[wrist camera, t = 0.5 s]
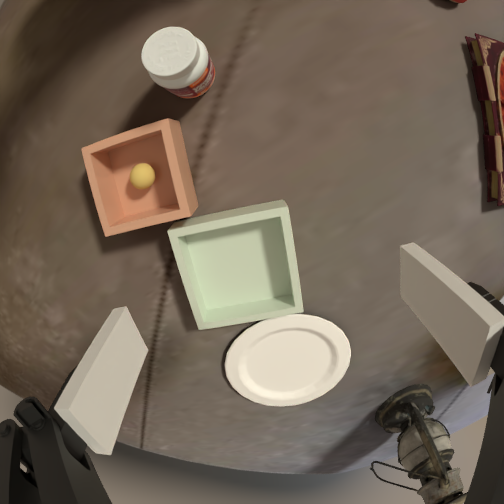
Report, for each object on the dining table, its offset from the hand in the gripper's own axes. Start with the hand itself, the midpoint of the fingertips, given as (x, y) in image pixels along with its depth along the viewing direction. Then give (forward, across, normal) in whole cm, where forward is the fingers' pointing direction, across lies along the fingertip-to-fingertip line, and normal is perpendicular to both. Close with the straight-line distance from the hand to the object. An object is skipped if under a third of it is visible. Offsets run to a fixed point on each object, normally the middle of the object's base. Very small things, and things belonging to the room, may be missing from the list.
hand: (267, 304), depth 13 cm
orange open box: (+26, -12, +6) cm, 29 cm away
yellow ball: (+25, -12, +6) cm, 28 cm away
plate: (+26, 0, -28) cm, 38 cm away
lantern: (+25, +21, -52) cm, 61 cm away
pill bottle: (+26, -4, +17) cm, 31 cm away
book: (+26, +49, +6) cm, 56 cm away
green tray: (+25, -4, -8) cm, 27 cm away
